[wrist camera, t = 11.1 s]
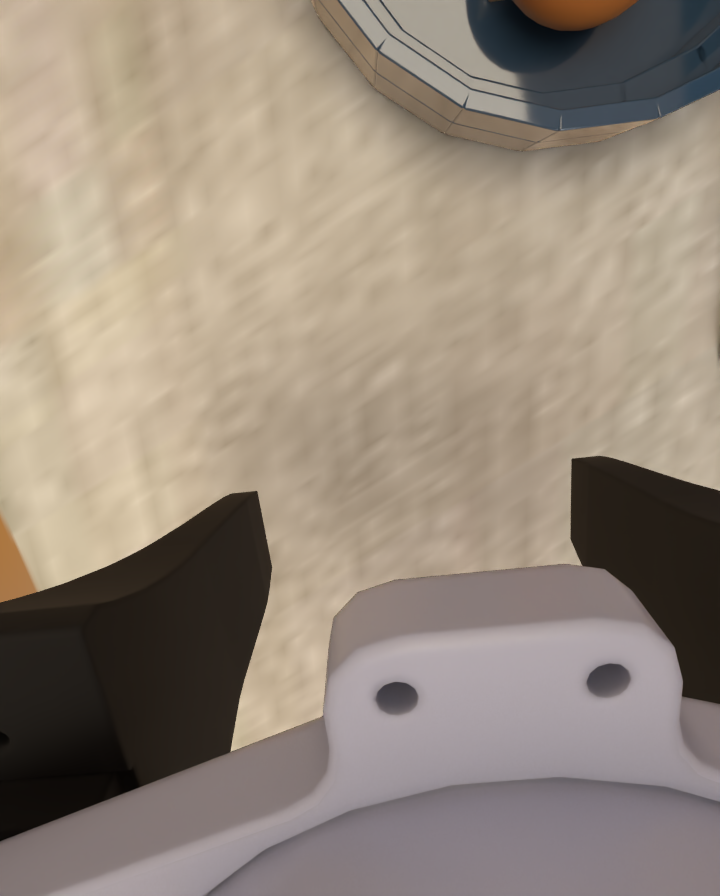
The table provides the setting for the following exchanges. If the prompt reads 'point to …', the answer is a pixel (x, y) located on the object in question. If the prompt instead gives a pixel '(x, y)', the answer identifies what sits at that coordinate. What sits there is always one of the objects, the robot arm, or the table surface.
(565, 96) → the bowl
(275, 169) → the table surface
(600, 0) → the bun
